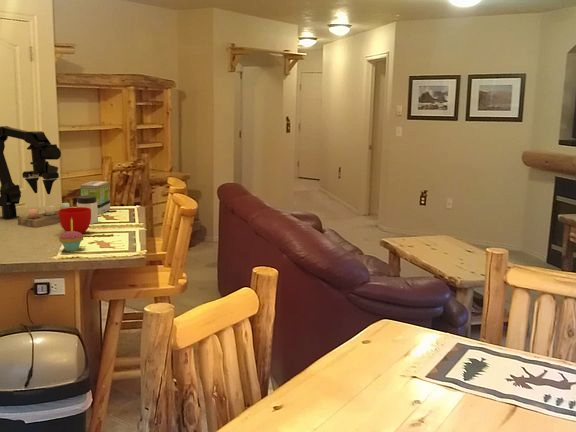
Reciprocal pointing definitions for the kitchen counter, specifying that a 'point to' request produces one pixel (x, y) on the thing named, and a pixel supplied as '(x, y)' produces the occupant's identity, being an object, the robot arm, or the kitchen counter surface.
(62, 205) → the green button
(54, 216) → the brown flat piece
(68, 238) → the cupcake
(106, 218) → the kitchen counter surface
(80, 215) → the ceramic cup
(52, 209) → the cream button
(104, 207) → the tea box
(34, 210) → the terracotta button
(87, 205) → the jar
